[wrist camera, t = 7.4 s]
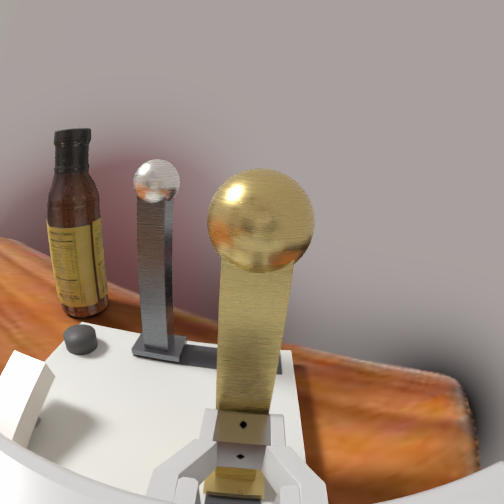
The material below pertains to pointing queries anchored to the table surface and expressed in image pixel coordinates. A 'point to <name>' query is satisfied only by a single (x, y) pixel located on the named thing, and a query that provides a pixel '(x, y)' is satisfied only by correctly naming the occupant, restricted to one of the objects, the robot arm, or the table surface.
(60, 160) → the sauce bottle
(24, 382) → the block
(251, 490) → the brass lever
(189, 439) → the panel
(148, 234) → the graphite lever
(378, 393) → the table surface
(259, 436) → the robot arm
